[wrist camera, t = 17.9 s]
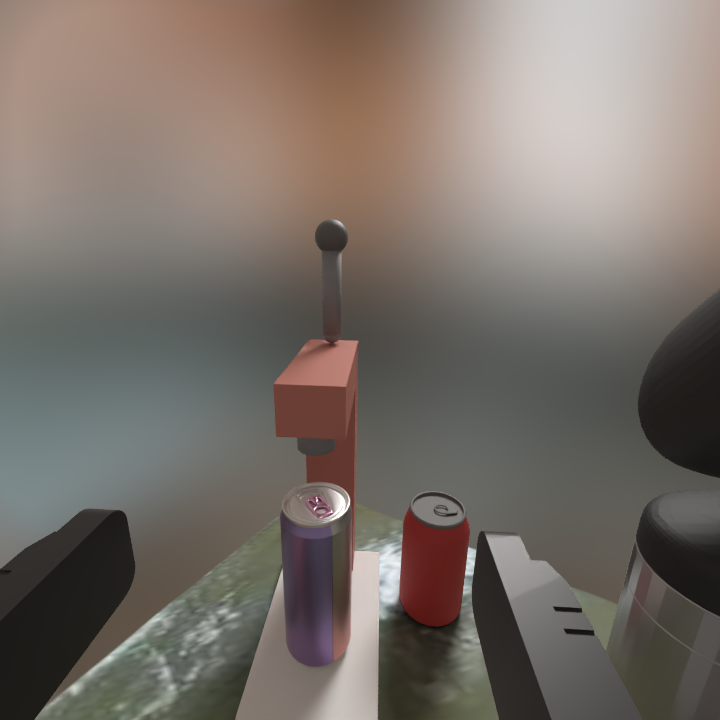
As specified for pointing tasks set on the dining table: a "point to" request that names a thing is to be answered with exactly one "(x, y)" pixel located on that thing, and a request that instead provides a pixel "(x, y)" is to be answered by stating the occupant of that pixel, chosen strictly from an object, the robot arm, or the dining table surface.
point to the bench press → (338, 466)
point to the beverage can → (317, 572)
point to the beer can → (434, 558)
